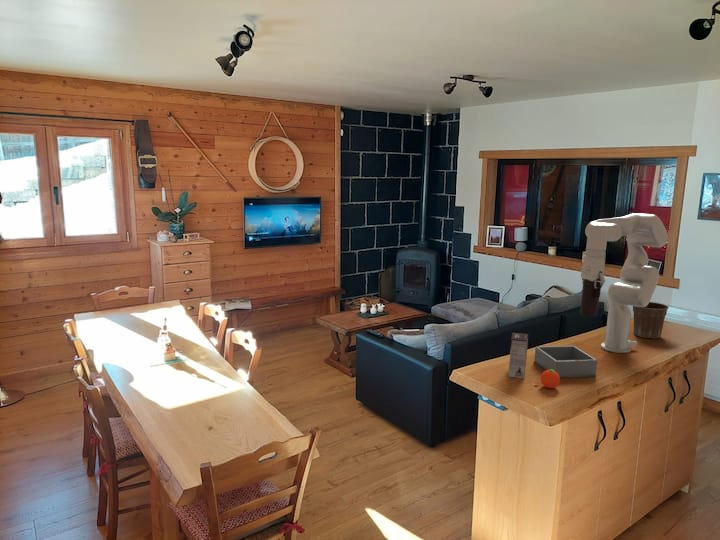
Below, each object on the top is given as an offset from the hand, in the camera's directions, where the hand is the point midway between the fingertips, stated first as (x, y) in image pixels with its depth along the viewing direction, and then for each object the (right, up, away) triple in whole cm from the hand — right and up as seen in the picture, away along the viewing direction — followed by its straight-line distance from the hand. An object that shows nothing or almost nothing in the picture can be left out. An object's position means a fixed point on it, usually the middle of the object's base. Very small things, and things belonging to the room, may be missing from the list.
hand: (590, 294), depth 217 cm
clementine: (-25, -34, -21) cm, 48 cm away
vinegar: (0, -9, +2) cm, 9 cm away
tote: (-13, -31, -3) cm, 33 cm away
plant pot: (+49, -23, +45) cm, 70 cm away
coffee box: (-34, -32, -9) cm, 47 cm away
